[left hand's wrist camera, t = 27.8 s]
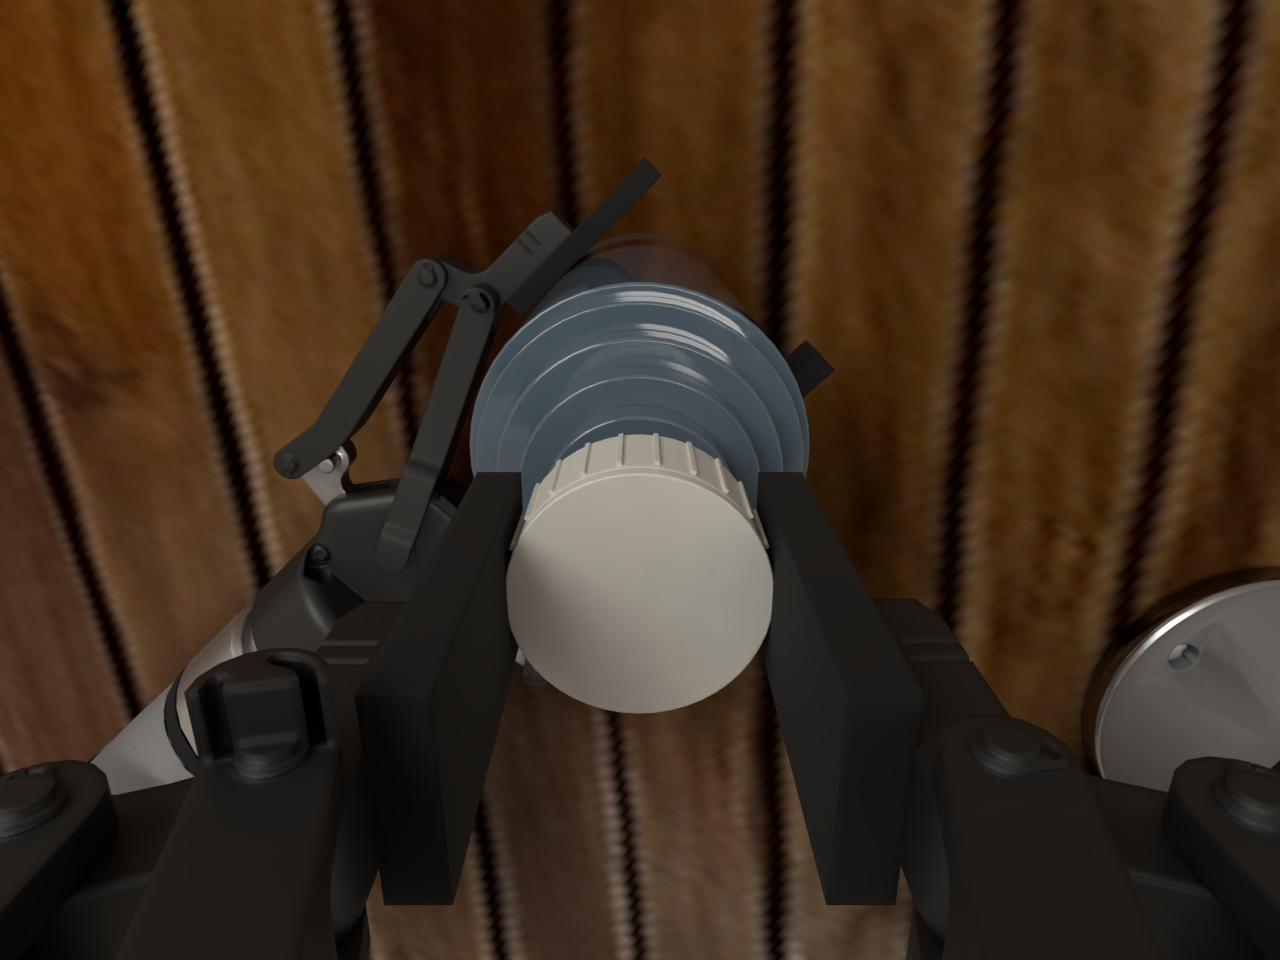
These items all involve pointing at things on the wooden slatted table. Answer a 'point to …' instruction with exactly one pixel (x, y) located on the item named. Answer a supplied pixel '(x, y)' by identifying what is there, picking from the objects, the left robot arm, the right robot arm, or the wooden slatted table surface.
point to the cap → (639, 575)
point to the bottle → (639, 370)
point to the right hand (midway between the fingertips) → (738, 264)
